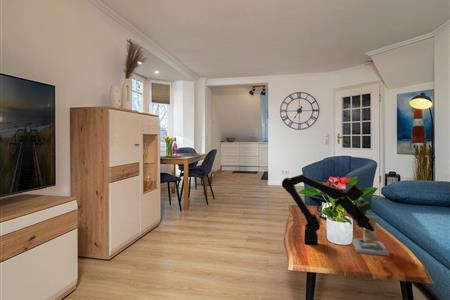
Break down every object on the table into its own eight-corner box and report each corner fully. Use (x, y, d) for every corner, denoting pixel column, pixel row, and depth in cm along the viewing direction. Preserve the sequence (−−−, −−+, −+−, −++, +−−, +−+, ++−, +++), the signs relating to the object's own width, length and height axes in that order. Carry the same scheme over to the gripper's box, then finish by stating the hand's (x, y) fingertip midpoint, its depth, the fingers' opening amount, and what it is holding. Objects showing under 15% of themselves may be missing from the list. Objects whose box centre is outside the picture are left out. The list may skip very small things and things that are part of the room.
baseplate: (357, 252, 125) (357, 247, 125) (352, 241, 138) (352, 237, 138) (389, 255, 121) (389, 250, 120) (381, 244, 134) (381, 239, 134)
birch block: (364, 242, 128) (364, 217, 128) (363, 239, 132) (363, 215, 132) (376, 244, 126) (376, 218, 126) (373, 240, 131) (373, 216, 131)
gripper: (365, 200, 121) (391, 224, 118) (357, 193, 139) (379, 214, 136) (347, 215, 124) (372, 239, 121) (341, 206, 141) (363, 227, 138)
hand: (372, 229), depth 129 cm, fingers closed on birch block, 5 cm apart
